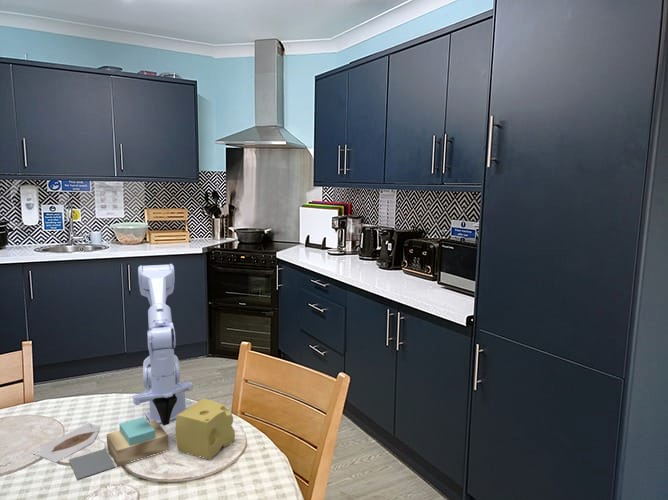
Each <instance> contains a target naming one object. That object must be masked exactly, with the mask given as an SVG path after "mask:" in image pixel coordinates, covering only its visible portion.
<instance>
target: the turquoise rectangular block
mask: <svg viewBox="0 0 668 500" xmlns="http://www.w3.org/2000/svg"><path fill="white" fill-rule="evenodd" d="M148 422H149V421H148V420H147V419H146V418H145V416H143V417H139V418H136V419H135V418H134V419H132V420H129V421H124V422H121V423H119V424H118V425H119V430H120V432H121V434H122V435H123V437H124V438H125V440H126V441H127V443H128V444H129V446H131V445H134V444H137V443H141V442H144V441H147V440H150V439H154V438H155V430H154V429H153V427H152V426H151V425H150V424H149V423H148Z"/></svg>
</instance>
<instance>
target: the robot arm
mask: <svg viewBox="0 0 668 500" xmlns="http://www.w3.org/2000/svg"><path fill="white" fill-rule="evenodd" d="M137 274H138V286H139V292H140V296H142V297H145V298H147V299H148V303H149V306H150V307H149V308H148V310H147V317H148V318H147V319H148V320H147V321H148V322H147V323H148V331H147V349H148V352H149V355H148V356H147V357H146V358H145V359H144V360H143V363H142V366H143V367H142V378H143V379H142V380H143V387H144V388H145V389H148V390H145V391H143V392H141V393H138V394H134V395H133V396H132V399H133V401H132V402H133V404H134V405H135V406H139V405H141V404H143V403H146V402H149V403H148V404H149V412H146V413H145V416H146V418H147V419H148V420H149V422H150V421H154V420H156V422H157V423H158V424H159V425H160V424H162V426H164V427H165V426H168V425H169V424H170V422H171V421H174V420H176V417H177V414H179V413H181V412H183V411H184V410H186V409H187V407H186V393H185V392H192V391H193V386H194V385H193V383H192V382H191V381H186V382H181V370H180V363H179V358H178V356H177V355H176V354H175V348H176V341H177V340H176V331H175V327H174V323H173V320H172V309H171V307H170V306H169V305H167V304H166V302H167V298H168V296H170V295H171V294H173V293H174V290H175V281H176V278H175V276H176V275H175V266H174V264H173V263H168V264H153V265H151V264H150V265H139V266H138V267H137Z"/></svg>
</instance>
